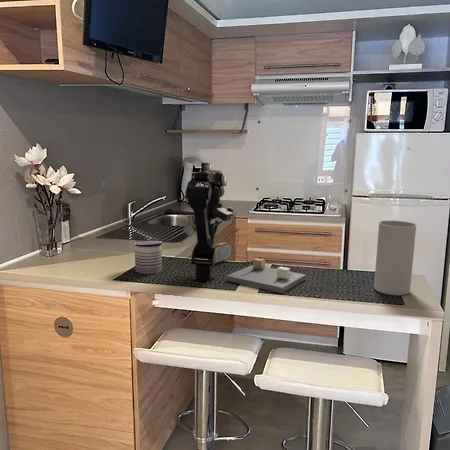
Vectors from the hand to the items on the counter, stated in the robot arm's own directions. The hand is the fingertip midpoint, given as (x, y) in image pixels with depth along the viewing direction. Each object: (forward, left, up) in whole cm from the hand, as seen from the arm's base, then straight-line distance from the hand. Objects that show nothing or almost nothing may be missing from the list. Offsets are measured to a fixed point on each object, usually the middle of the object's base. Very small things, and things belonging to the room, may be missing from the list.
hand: (212, 238), depth 191 cm
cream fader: (+1, -33, -11) cm, 35 cm away
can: (-17, +20, -13) cm, 29 cm away
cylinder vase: (+17, -69, -13) cm, 72 cm away
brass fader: (+6, -19, -11) cm, 23 cm away
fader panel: (0, -26, -13) cm, 29 cm away
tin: (+12, +4, -13) cm, 18 cm away
